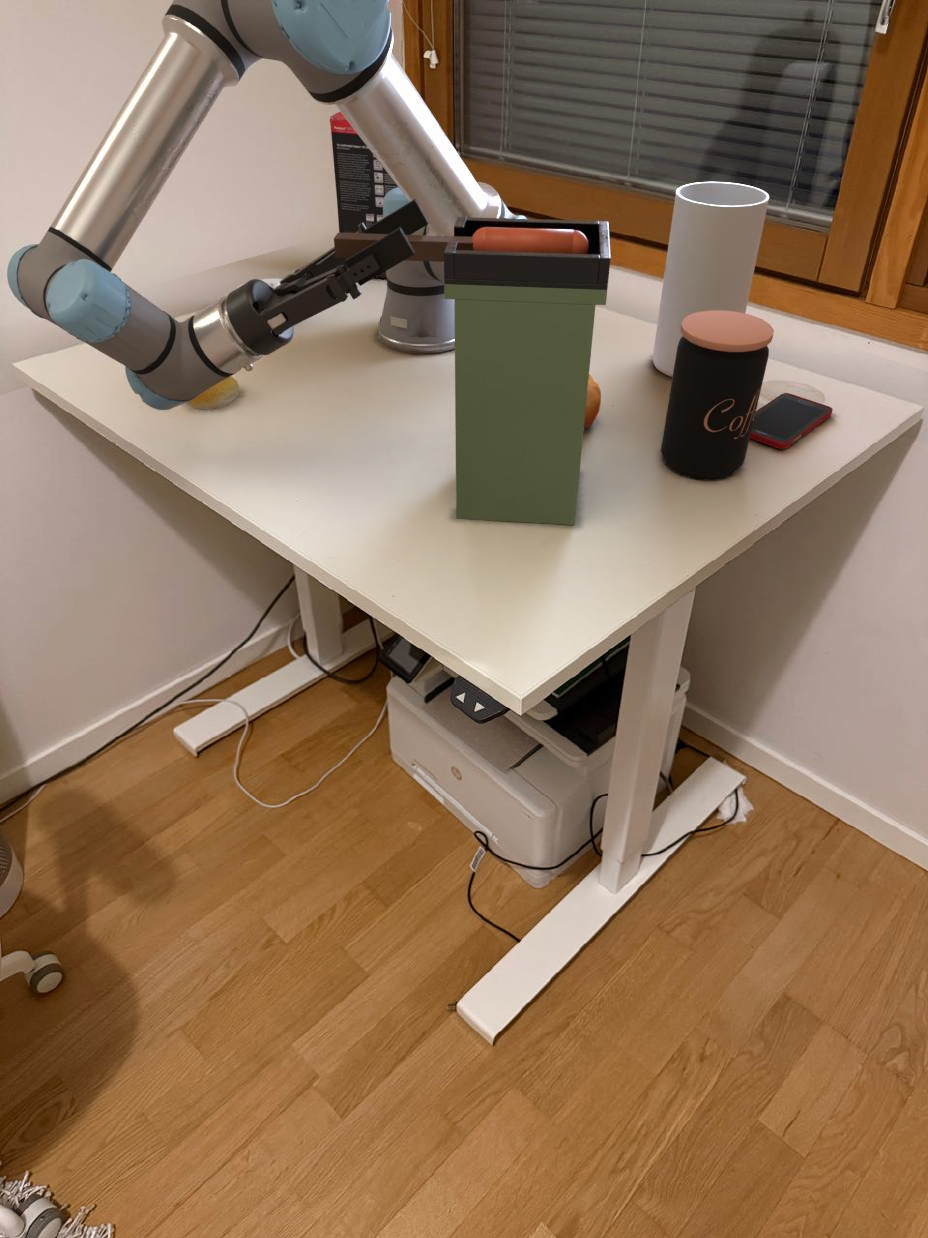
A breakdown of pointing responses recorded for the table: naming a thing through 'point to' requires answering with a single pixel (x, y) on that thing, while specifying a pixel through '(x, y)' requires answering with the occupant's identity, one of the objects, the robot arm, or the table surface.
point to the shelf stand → (520, 399)
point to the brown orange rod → (475, 242)
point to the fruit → (592, 402)
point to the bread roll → (217, 395)
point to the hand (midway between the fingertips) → (415, 225)
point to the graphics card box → (357, 179)
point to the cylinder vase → (708, 257)
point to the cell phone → (787, 420)
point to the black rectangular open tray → (530, 258)
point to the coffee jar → (714, 393)
